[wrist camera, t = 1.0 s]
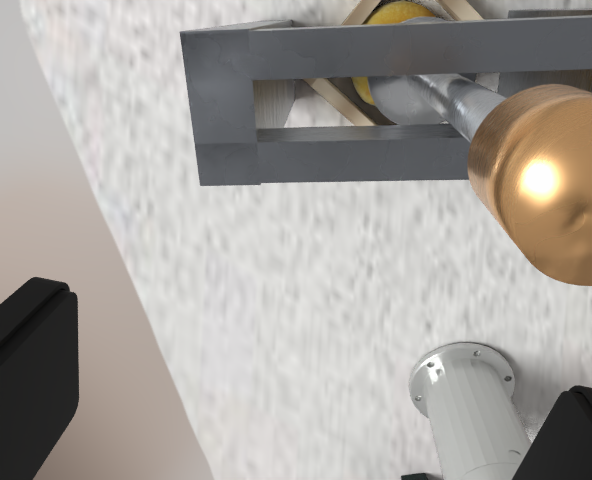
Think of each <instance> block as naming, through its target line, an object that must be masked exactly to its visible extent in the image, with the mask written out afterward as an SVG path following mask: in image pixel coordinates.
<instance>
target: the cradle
mask: <svg viewBox="0 0 592 480" xmlns="http://www.w3.org/2000/svg"><path fill="white" fill-rule="evenodd" d="M380 1H381V0H361V1H360V2H359V3H358V5H357V6H356V7H355V8H354V10H353V11H352V12H351V13H350V15H349V16H348V17H347V18H346V20H345V21H344V22H343V23H342V25H341V26H345V25H361V24H362V23H363V22H364V21H365V19H366V18H367V17H368V16H369V14H370V13H371V12H372V11H373V10H374V8H375V7H376V6H377V5H378V3H379V2H380ZM436 1H437V2H438V3H439V4H440V5H441V6H442V7H443V8H444V9H445V10H446V11H447V12H448V13H449V14H450V15H451V16H452V17H453V18H454V20H455V21H465V20H484V19H483V18H482V17H481V16H480V15H479V14H478V13H477V12H476V11H475V10H474V8H473V7H472V6H471V5H470V4H469V3H468V2H467V1H466V0H436ZM303 80H304V81H305V82H306V83H308V84H309V85H310V86H311V87H312V88H313V89H314V90H315V91H317V92H318V93H319V94H320V95H321V96H322V97H323V98H324V99H326V100H327V101H328V102H329V103H330V104H331V105H332V106H333V107H335V108H336V109H337V110H338V111H339V112H340V113H341V114H343V115H344V116H345V117H346V118H347V119H348V120H349V121H350V122H352V123H353V124H354V125H355V126H379V125H378V124H377V123H376V122H375V121H373V120H372V119H371V118H370V117H369V116H368V115H367V114H366V113H365V112H363V111H362V110H361V109H360V108H359V107H358V106H357V105H356V104H355V103H353V102H352V101H351V100H350V99H349V98H348V97H347V96H346V95H345V94H343V93H342V92H341V91H340V90H339V89H338V88H337V87H336V86H335V85H333V84H332V83H331V82H330V81H329V80H328V79H327V78H308V79H303Z"/></svg>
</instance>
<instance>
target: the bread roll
mask: <svg viewBox="0 0 592 480" xmlns="http://www.w3.org/2000/svg"><path fill="white" fill-rule="evenodd" d="M414 17H436V16H435V15H434V14H432V13H431V12H430V11H429V10H428V9H426V8H425V7H423V6H421V5H419V4H416V3H413V2H409V1H394V2H390V3H387V4H384V5H382V6H381V7H379V8H377V9H376V10H375V11H373V12H372V13H371V14H370V15H369V16H368V17H367V18H366V19H365V21H364V22H363V23H362V24H361V25H369V24H393V23H400V22H402V21H404V20H407V19H410V18H414ZM352 81H353V84H354V87H355V89H356V91H357V93H358V94H359V96H360V97H361V98H362V99H363V100H364V101H365V102H366V103H368V104H370V105H374V106H376V105H375V103H374V101H373V99H372V97H371V94H370V91H369V88H368V82H367V77H352ZM376 107H377V106H376Z"/></svg>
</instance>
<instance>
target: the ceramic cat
mask: <svg viewBox="0 0 592 480" xmlns="http://www.w3.org/2000/svg"><path fill="white" fill-rule="evenodd" d="M401 480H428V479H427V477H426V475H425V473H421V474H412V475H405V476H401Z"/></svg>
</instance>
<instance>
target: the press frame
mask: <svg viewBox="0 0 592 480" xmlns="http://www.w3.org/2000/svg"><path fill="white" fill-rule="evenodd" d="M180 37H181V45H182V52H183V60H184V67H185V75H186V82H187V90H188V97H189V105H190V112H191V120H192V127H193V135H194V142H195V150H196V157H197V165H198V172H199V180H200V186H220V185H260V184H261V183H285V182H345V181H406V180H466V179H469V176H468V167H467V162H468V153H469V148H470V145H471V143H470V142H469V141H468V140H467V139H466V138H465V137H464V136H463V135H462V134H460V133H459V132H458V131H457V130H456V129H455V128H454V127H453V126H452V125H451V124H419V125H379V126H340V127H301V128H284V125H285V123H286V120H287V118H288V115H289V113H290V110H291V108H292V106H293V103H294V101H295V91H294V79H308V78H338V77H368V76H398V75H428V74H458V73H488V72H500V78H499V85H498V93H497V94H499V95H501V96H503V97H505V98H508V97H510V96H512V95H514V94H516V93H518V92H520V91H522V90H525V89H528V88H530V87H534V86H539V85H546V84H562V85H568V86H572V87H575V88H579V89H582V90H585V91H588V92H592V8H589V9H535V10H511V11H509V14H508V19H490V20H465V21H441V22H417V23H393V24H369V25H345V26H321V27H297V28H292V20H278V21H257V22H250V23H242V24H235V25H227V26H219V27H212V28H204V29H197V30H189V31H181V32H180Z"/></svg>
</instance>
